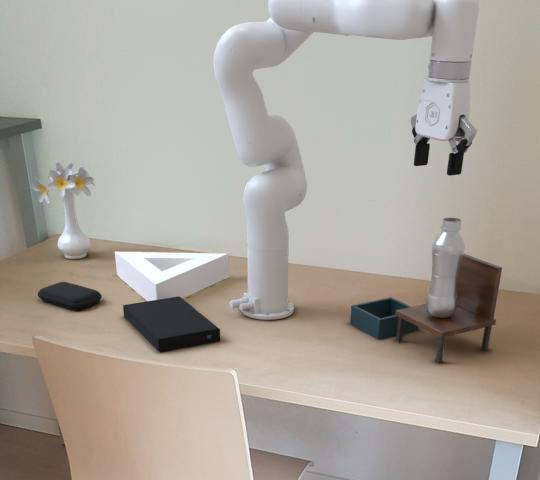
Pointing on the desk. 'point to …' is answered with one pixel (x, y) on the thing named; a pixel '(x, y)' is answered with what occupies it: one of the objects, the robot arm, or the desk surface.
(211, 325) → the external hard drive
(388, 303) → the rectangular frame
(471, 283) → the chair
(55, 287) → the carrying case
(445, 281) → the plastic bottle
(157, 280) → the triangle block
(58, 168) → the flower vase
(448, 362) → the desk surface
